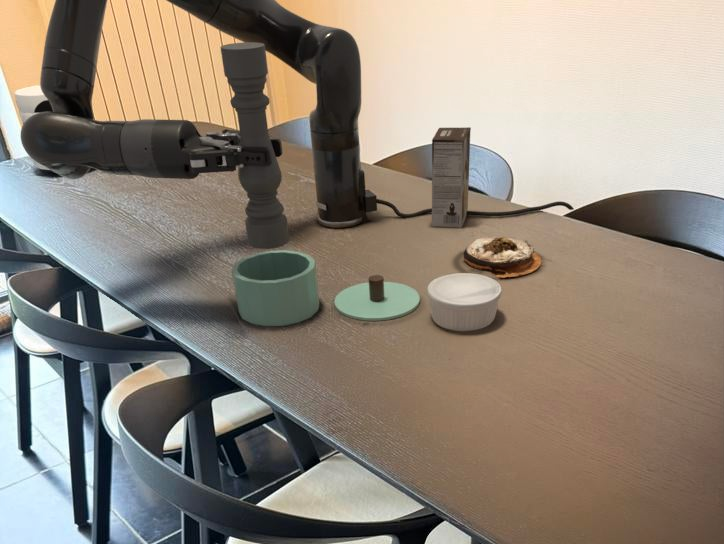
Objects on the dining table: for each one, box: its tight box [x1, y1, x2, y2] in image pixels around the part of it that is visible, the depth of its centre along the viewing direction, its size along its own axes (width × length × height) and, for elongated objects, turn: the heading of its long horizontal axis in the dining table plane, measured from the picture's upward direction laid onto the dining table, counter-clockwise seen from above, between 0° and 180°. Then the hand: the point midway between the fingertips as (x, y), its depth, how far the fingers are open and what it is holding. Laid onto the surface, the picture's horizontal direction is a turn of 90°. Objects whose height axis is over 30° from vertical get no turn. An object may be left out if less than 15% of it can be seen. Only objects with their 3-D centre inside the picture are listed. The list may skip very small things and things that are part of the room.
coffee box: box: [431, 127, 472, 228], centre depth 139 cm, size 9×6×16 cm
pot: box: [230, 249, 321, 327], centre depth 112 cm, size 13×13×8 cm
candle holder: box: [220, 42, 290, 250], centre depth 99 cm, size 6×6×25 cm
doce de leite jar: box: [13, 84, 56, 174], centre depth 179 cm, size 17×17×18 cm
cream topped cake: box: [463, 236, 542, 279], centre depth 125 cm, size 15×15×4 cm
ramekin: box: [426, 272, 503, 332], centre depth 108 cm, size 11×11×5 cm
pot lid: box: [333, 274, 421, 322], centre depth 113 cm, size 14×14×5 cm
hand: (275, 152), depth 99 cm, fingers closed on candle holder, 4 cm apart
